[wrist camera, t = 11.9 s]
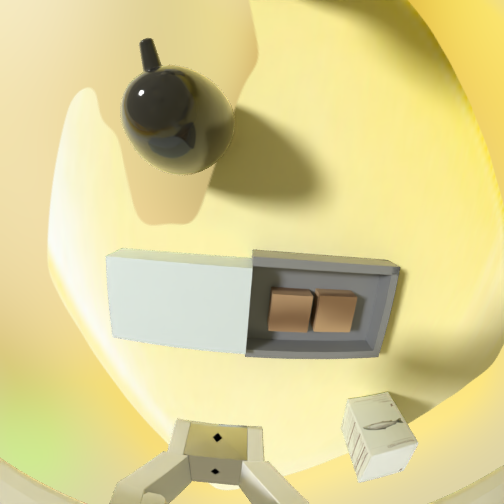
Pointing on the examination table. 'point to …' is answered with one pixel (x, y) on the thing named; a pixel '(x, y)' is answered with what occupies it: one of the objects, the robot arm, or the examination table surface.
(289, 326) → the tile
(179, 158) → the pump dispenser
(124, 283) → the pale grey flat block
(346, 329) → the tile
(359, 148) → the examination table surface
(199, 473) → the robot arm
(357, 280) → the tray
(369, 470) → the supplement box
